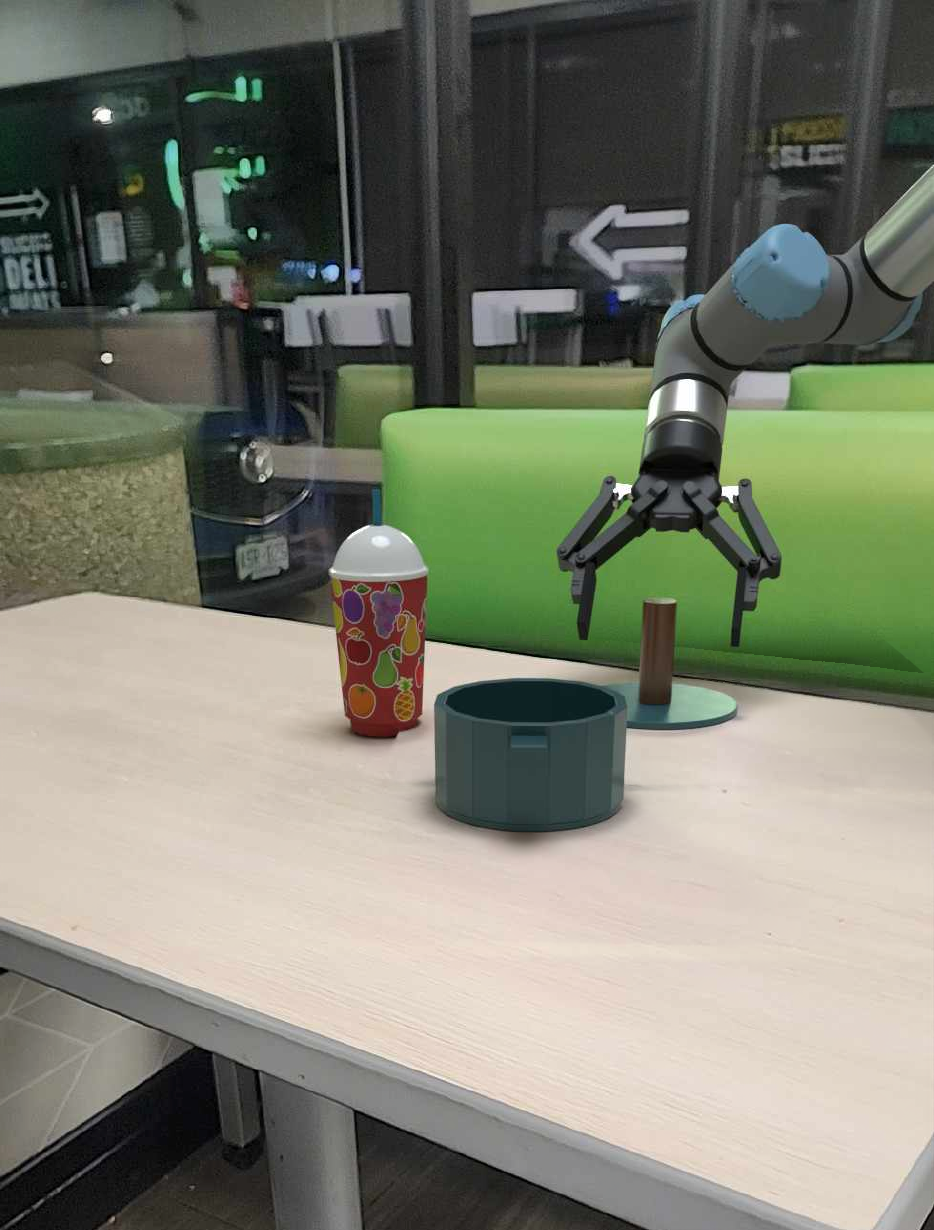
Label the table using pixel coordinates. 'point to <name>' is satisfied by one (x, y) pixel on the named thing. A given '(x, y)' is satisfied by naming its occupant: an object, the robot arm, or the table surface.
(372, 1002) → the table surface
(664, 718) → the lid
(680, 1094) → the table surface
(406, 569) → the smoothie
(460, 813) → the tin
